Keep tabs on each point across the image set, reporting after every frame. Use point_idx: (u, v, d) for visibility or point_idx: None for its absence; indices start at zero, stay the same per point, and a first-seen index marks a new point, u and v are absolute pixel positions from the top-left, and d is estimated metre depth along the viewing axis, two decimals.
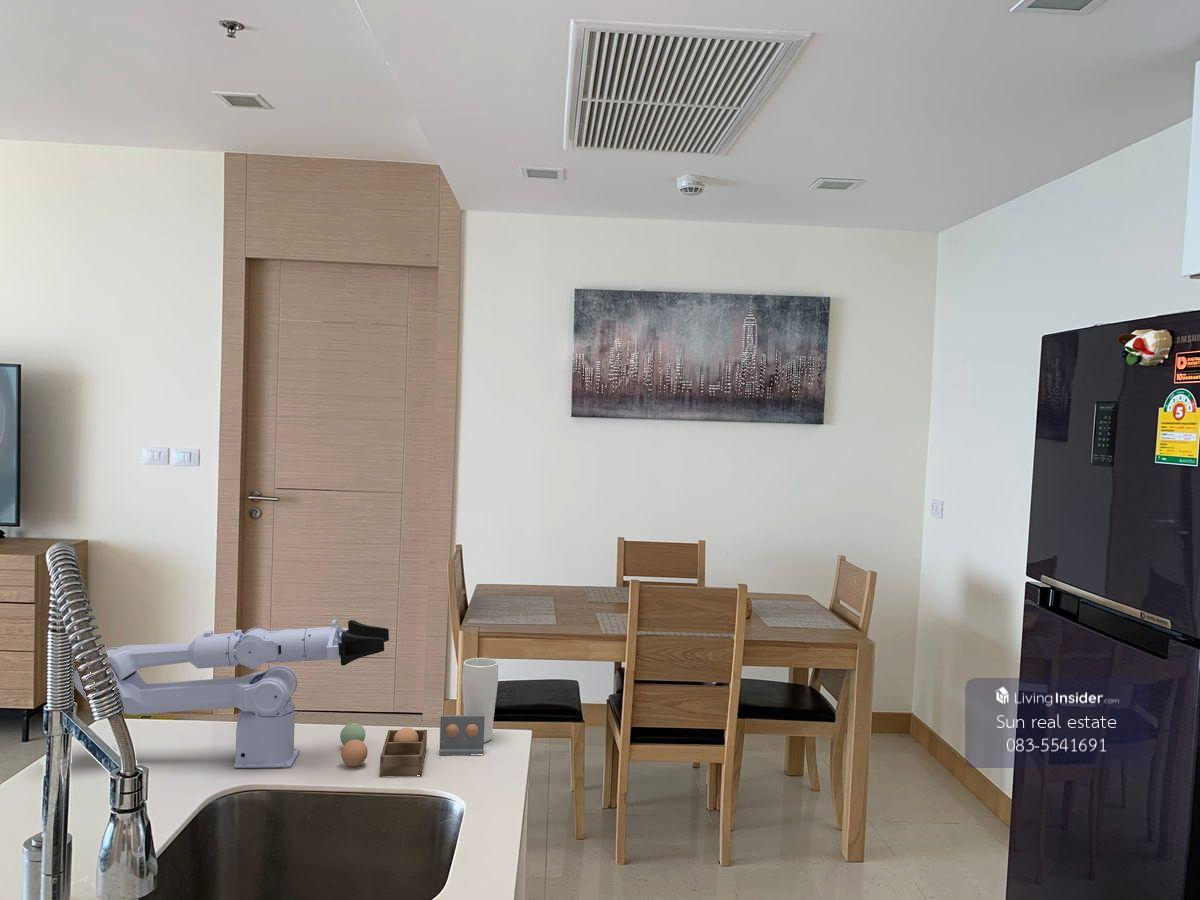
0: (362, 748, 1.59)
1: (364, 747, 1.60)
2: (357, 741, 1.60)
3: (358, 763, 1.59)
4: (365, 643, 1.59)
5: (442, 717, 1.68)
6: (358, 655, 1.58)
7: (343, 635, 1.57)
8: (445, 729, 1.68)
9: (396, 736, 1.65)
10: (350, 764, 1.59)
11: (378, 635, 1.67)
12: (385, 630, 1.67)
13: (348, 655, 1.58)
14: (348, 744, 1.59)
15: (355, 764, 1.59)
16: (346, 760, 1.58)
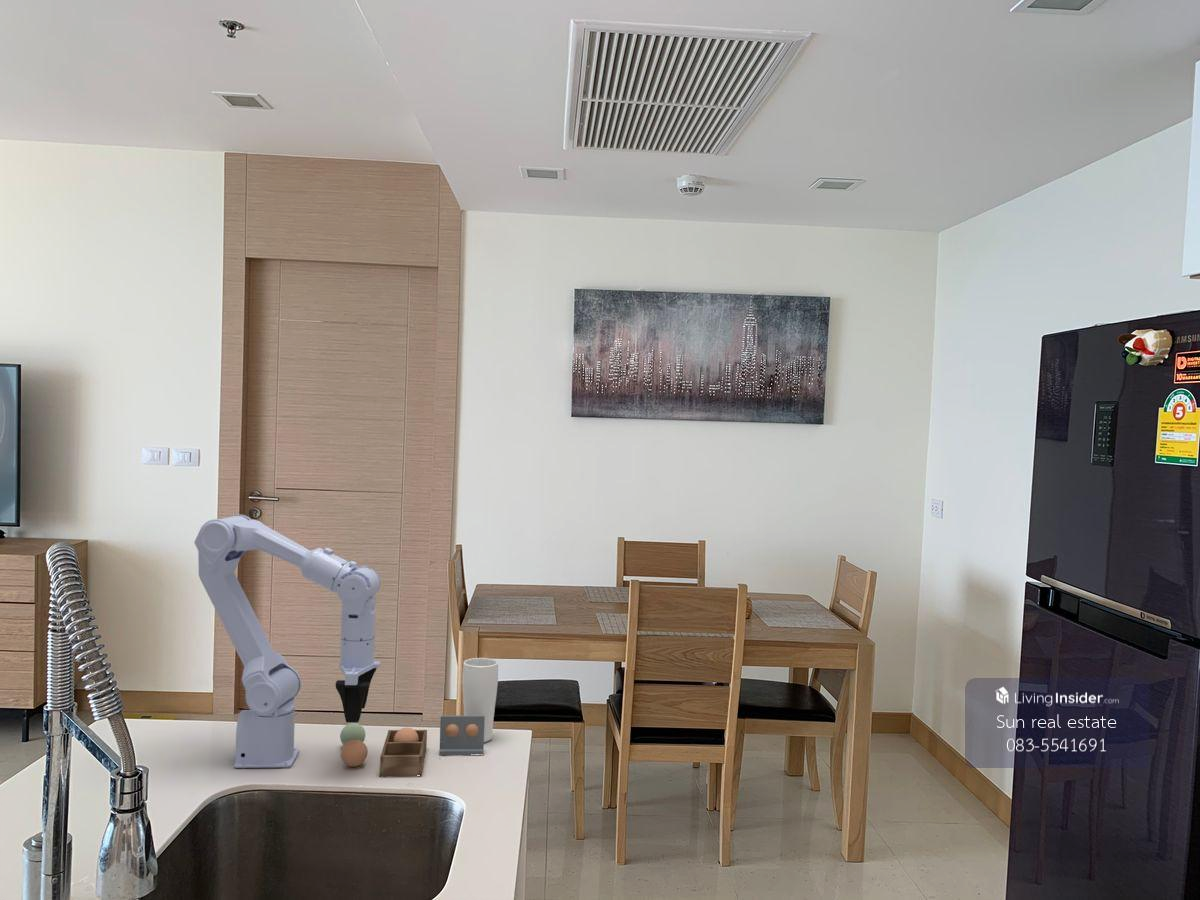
0: (362, 748, 1.59)
1: (364, 747, 1.60)
2: (357, 741, 1.60)
3: (358, 763, 1.59)
4: (355, 704, 1.56)
5: (442, 717, 1.68)
6: (344, 699, 1.55)
7: (367, 687, 1.54)
8: (445, 729, 1.68)
9: (396, 736, 1.65)
10: (350, 764, 1.59)
11: None
12: (363, 705, 1.64)
13: (345, 689, 1.55)
14: (348, 744, 1.59)
15: (355, 764, 1.59)
16: (346, 760, 1.58)
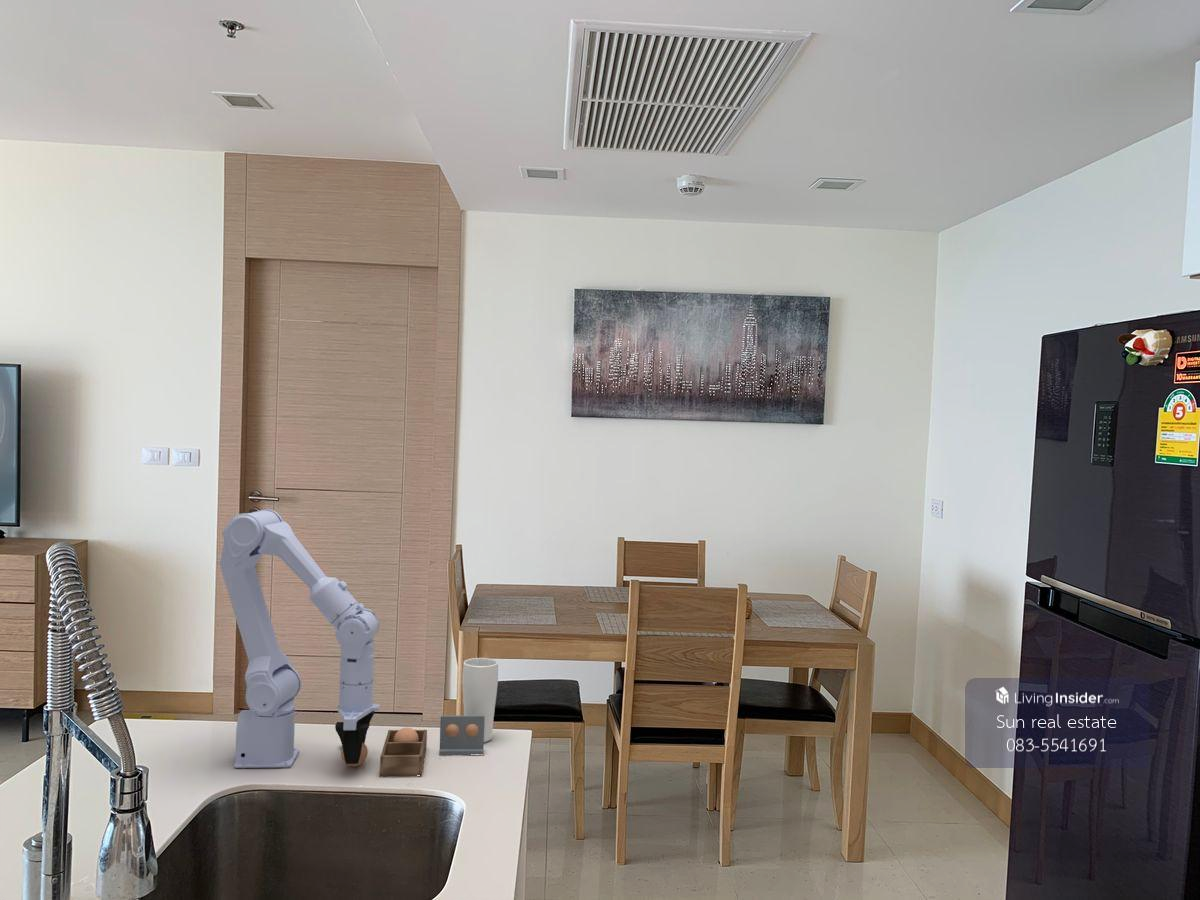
0: (362, 748, 1.59)
1: (364, 747, 1.60)
2: None
3: (358, 763, 1.59)
4: (355, 746, 1.57)
5: (442, 717, 1.68)
6: (344, 741, 1.56)
7: (366, 729, 1.56)
8: (445, 729, 1.68)
9: (396, 736, 1.65)
10: (350, 764, 1.59)
11: None
12: None
13: (345, 731, 1.56)
14: None
15: (355, 764, 1.59)
16: None
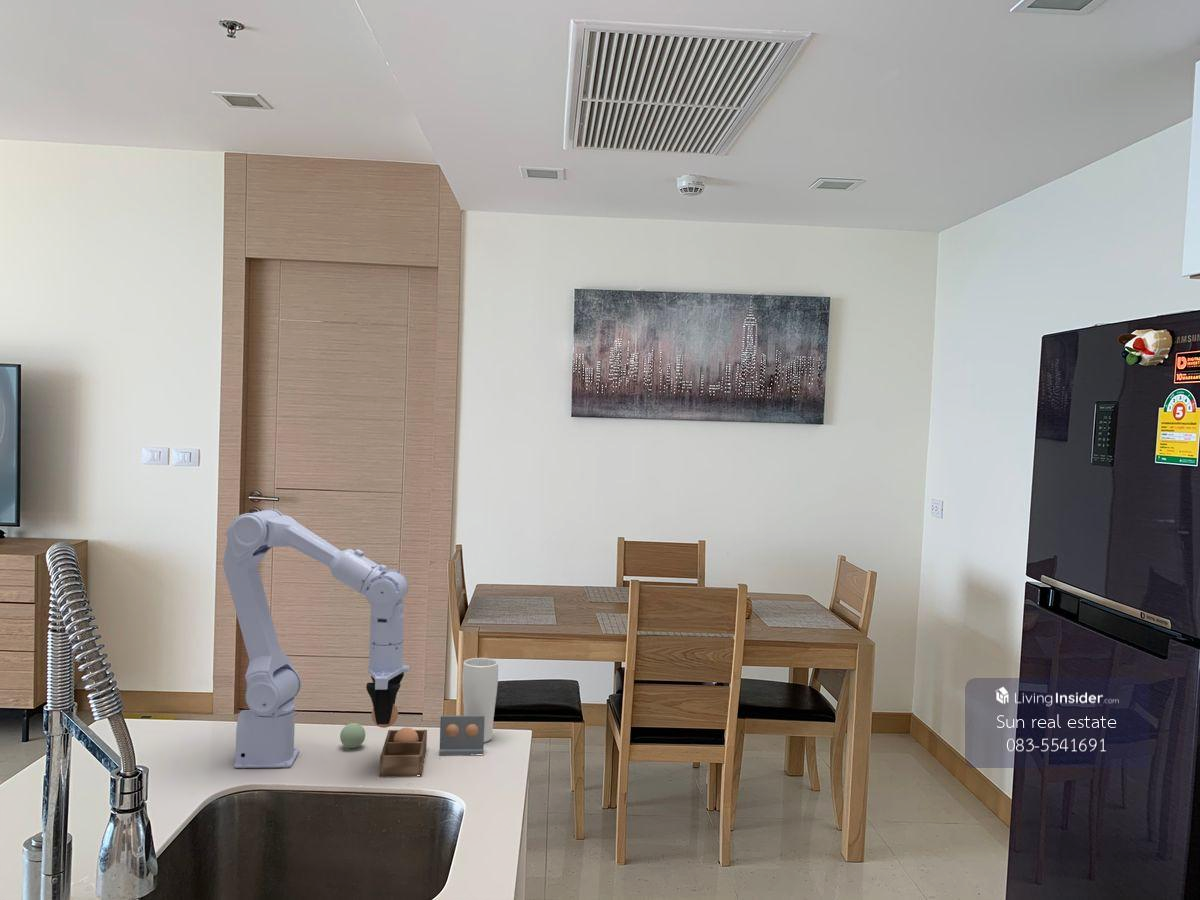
0: (392, 709, 1.59)
1: (394, 708, 1.59)
2: None
3: (389, 724, 1.58)
4: (386, 706, 1.57)
5: (442, 717, 1.68)
6: (375, 701, 1.56)
7: (397, 689, 1.55)
8: (445, 729, 1.68)
9: (396, 736, 1.65)
10: (381, 725, 1.58)
11: None
12: None
13: (376, 691, 1.56)
14: None
15: (386, 725, 1.58)
16: None
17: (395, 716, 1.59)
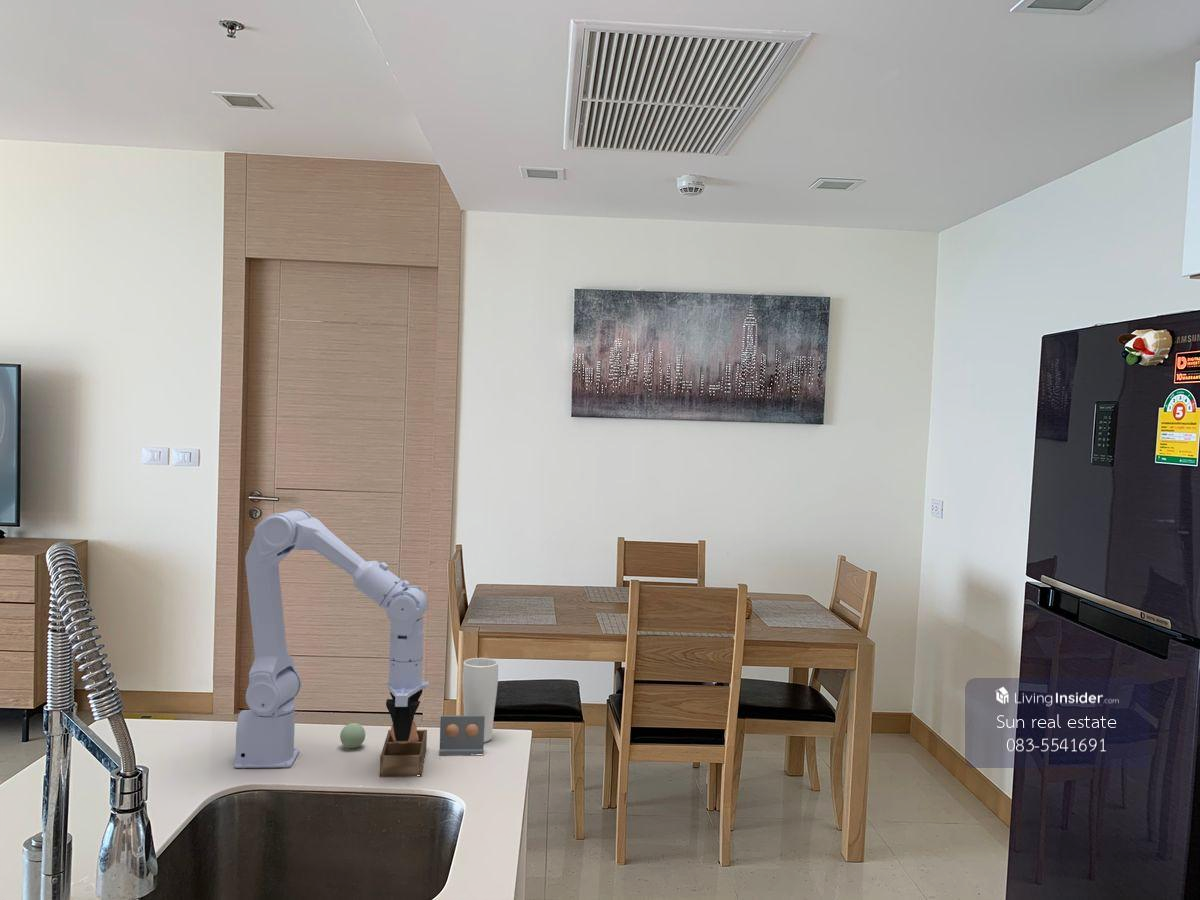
0: (412, 725, 1.58)
1: (414, 724, 1.59)
2: None
3: (408, 740, 1.58)
4: (405, 723, 1.56)
5: (442, 717, 1.68)
6: (394, 718, 1.55)
7: (417, 706, 1.55)
8: (445, 729, 1.68)
9: None
10: (400, 741, 1.58)
11: None
12: None
13: (395, 708, 1.55)
14: None
15: (405, 741, 1.58)
16: None
17: (414, 733, 1.59)
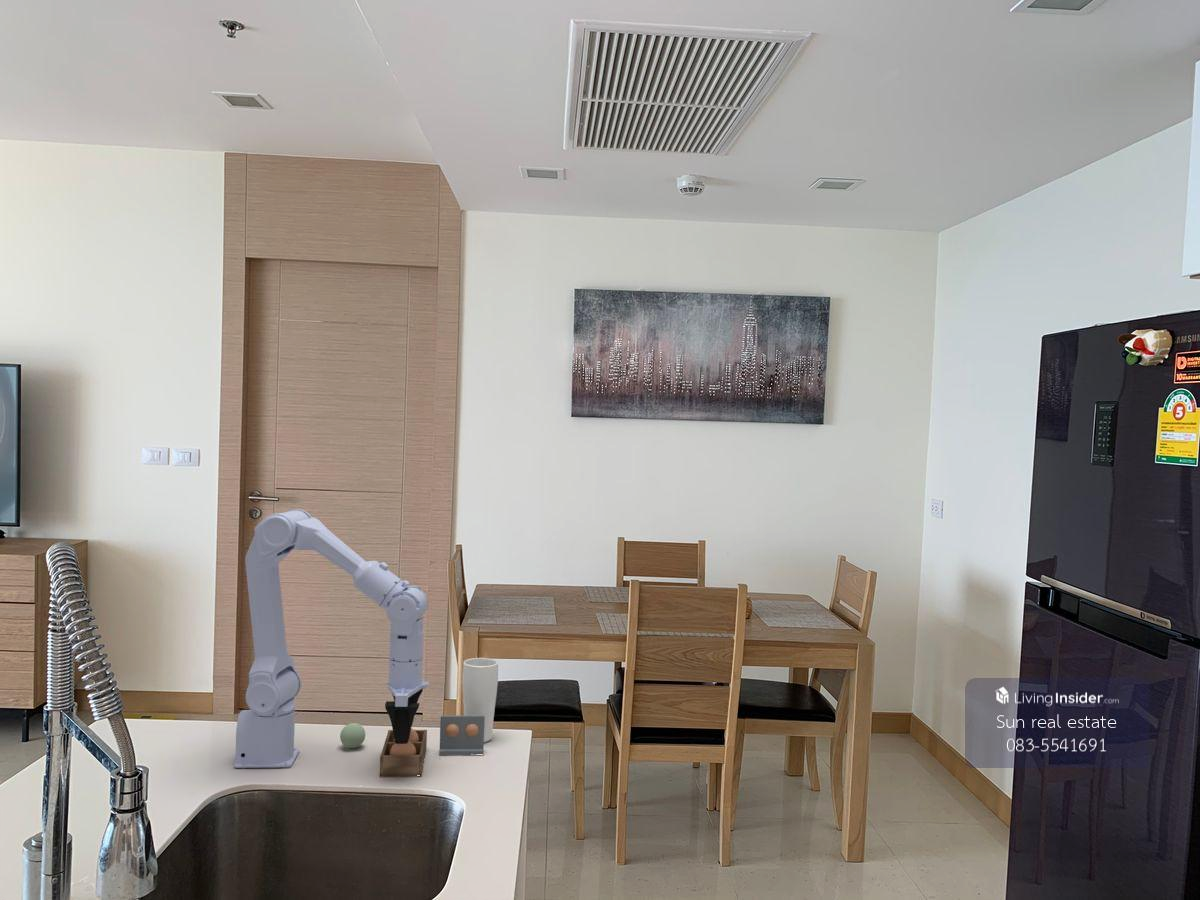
0: (411, 748, 1.59)
1: (413, 747, 1.59)
2: None
3: None
4: (405, 726, 1.55)
5: (442, 717, 1.68)
6: (393, 720, 1.54)
7: (416, 708, 1.54)
8: (445, 729, 1.68)
9: None
10: None
11: None
12: None
13: (394, 710, 1.54)
14: (397, 744, 1.58)
15: None
16: None
17: None
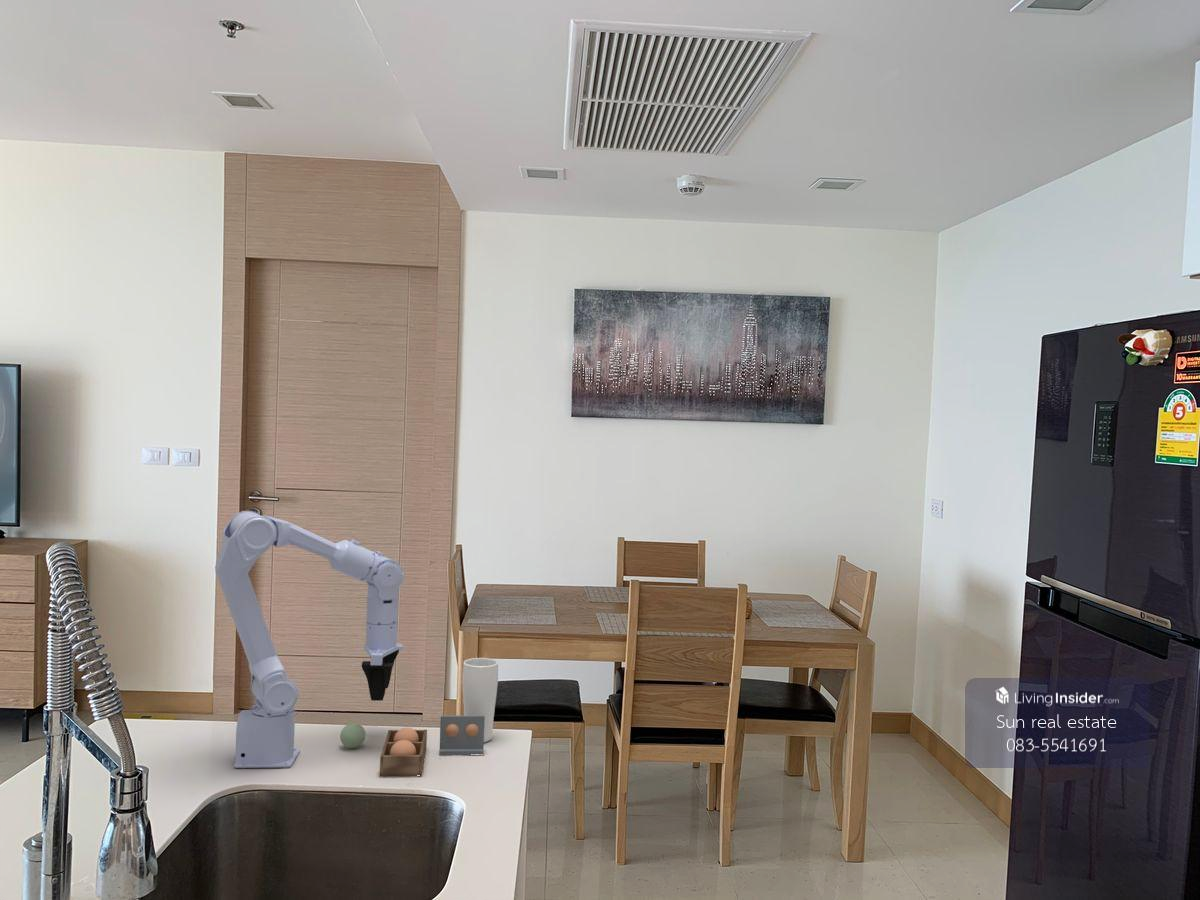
0: (411, 748, 1.58)
1: (413, 748, 1.59)
2: (406, 742, 1.59)
3: None
4: (380, 684, 1.67)
5: (442, 717, 1.68)
6: (369, 678, 1.66)
7: (391, 667, 1.66)
8: (445, 729, 1.68)
9: (396, 736, 1.65)
10: None
11: None
12: (386, 685, 1.75)
13: (370, 669, 1.66)
14: (397, 745, 1.58)
15: None
16: None
17: None
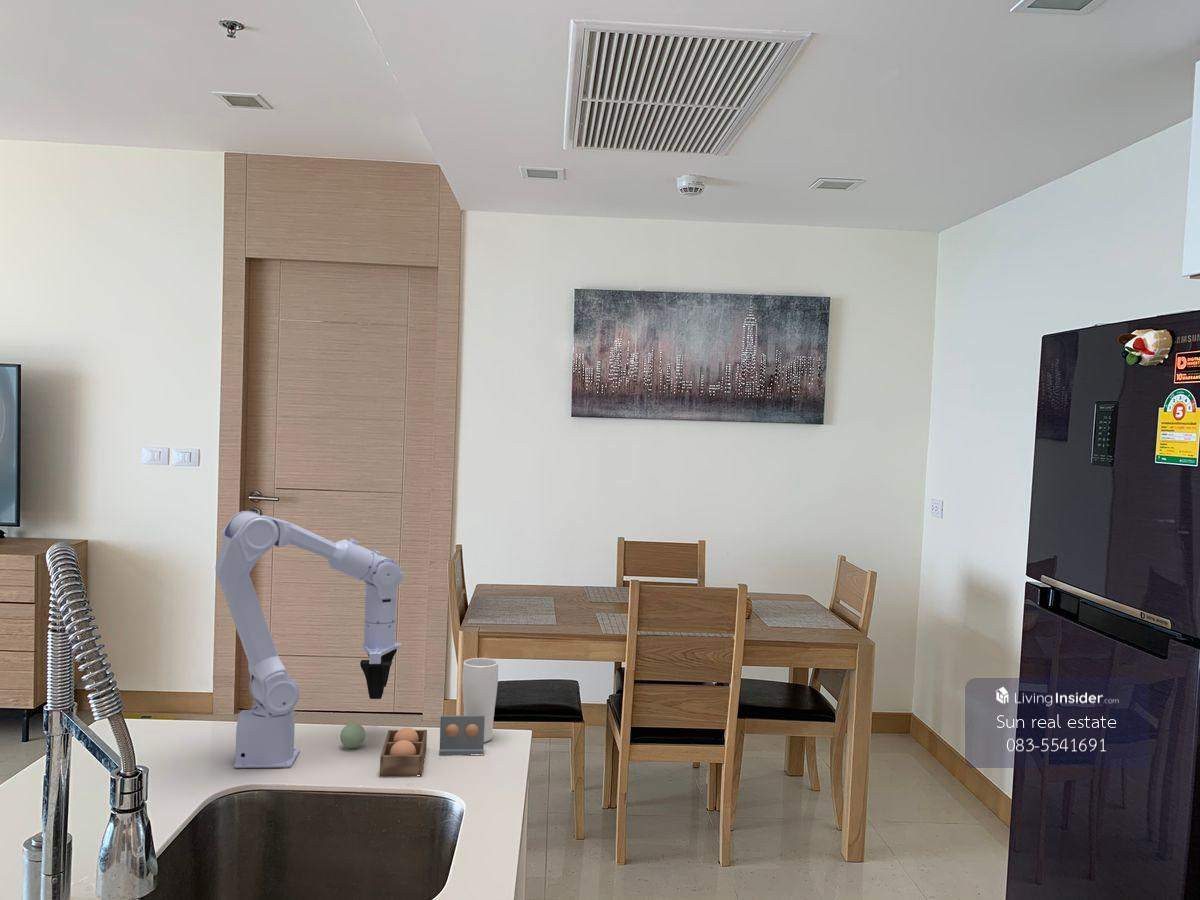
0: (411, 749, 1.58)
1: (413, 748, 1.59)
2: (406, 742, 1.59)
3: None
4: (378, 682, 1.68)
5: (442, 717, 1.68)
6: (368, 677, 1.67)
7: (389, 666, 1.67)
8: (445, 729, 1.68)
9: (396, 736, 1.65)
10: None
11: None
12: (384, 684, 1.76)
13: (369, 668, 1.67)
14: (397, 745, 1.58)
15: None
16: None
17: None
